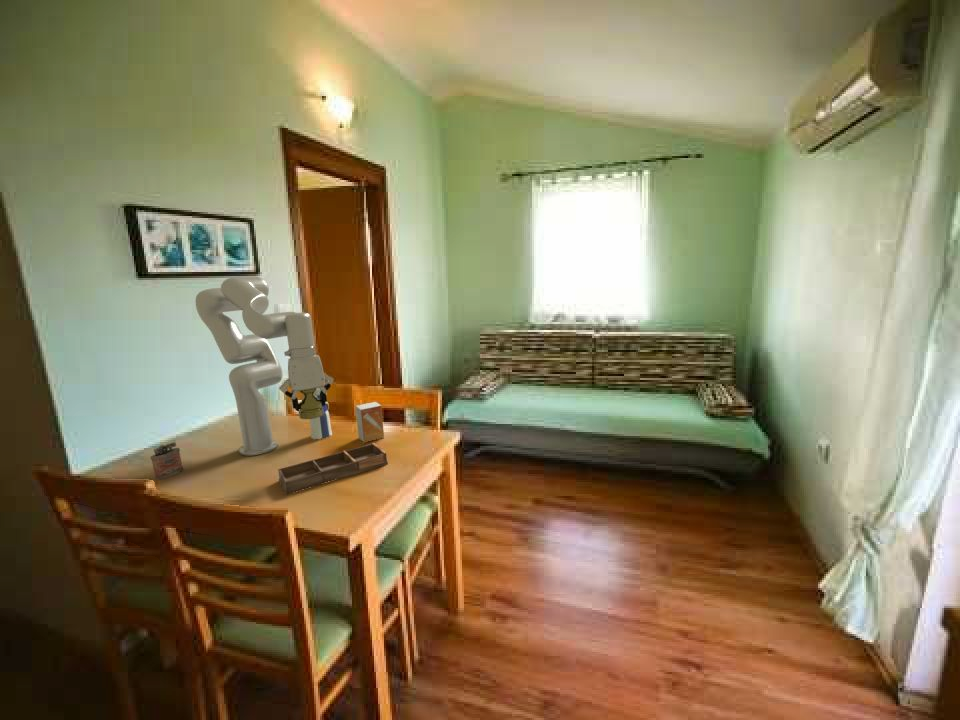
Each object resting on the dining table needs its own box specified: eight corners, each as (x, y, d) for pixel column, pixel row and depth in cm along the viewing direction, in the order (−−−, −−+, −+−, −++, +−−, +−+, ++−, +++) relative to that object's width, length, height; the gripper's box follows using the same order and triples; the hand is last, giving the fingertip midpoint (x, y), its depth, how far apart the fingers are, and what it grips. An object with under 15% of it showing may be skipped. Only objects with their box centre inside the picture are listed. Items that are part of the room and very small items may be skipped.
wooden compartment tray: (278, 481, 133) (277, 468, 132) (374, 453, 151) (373, 442, 150) (287, 495, 124) (285, 482, 123) (388, 464, 141) (387, 452, 141)
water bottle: (326, 430, 176) (319, 369, 170) (336, 434, 170) (329, 372, 165) (306, 436, 170) (298, 374, 165) (316, 441, 164) (308, 377, 159)
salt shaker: (295, 416, 139) (291, 386, 137) (318, 410, 144) (314, 381, 142) (304, 421, 133) (300, 390, 131) (328, 415, 138) (324, 384, 136)
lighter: (157, 480, 137) (151, 450, 135) (153, 478, 139) (146, 448, 137) (185, 470, 144) (180, 441, 142) (180, 468, 146) (175, 440, 144)
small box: (363, 443, 160) (360, 409, 157) (358, 438, 165) (354, 405, 163) (384, 438, 164) (381, 405, 162) (378, 433, 170) (375, 401, 167)
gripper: (274, 358, 127) (283, 416, 130) (334, 350, 136) (341, 404, 140) (270, 355, 133) (279, 410, 136) (328, 347, 142) (334, 399, 146)
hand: (310, 407), depth 138 cm, fingers closed on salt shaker, 7 cm apart
